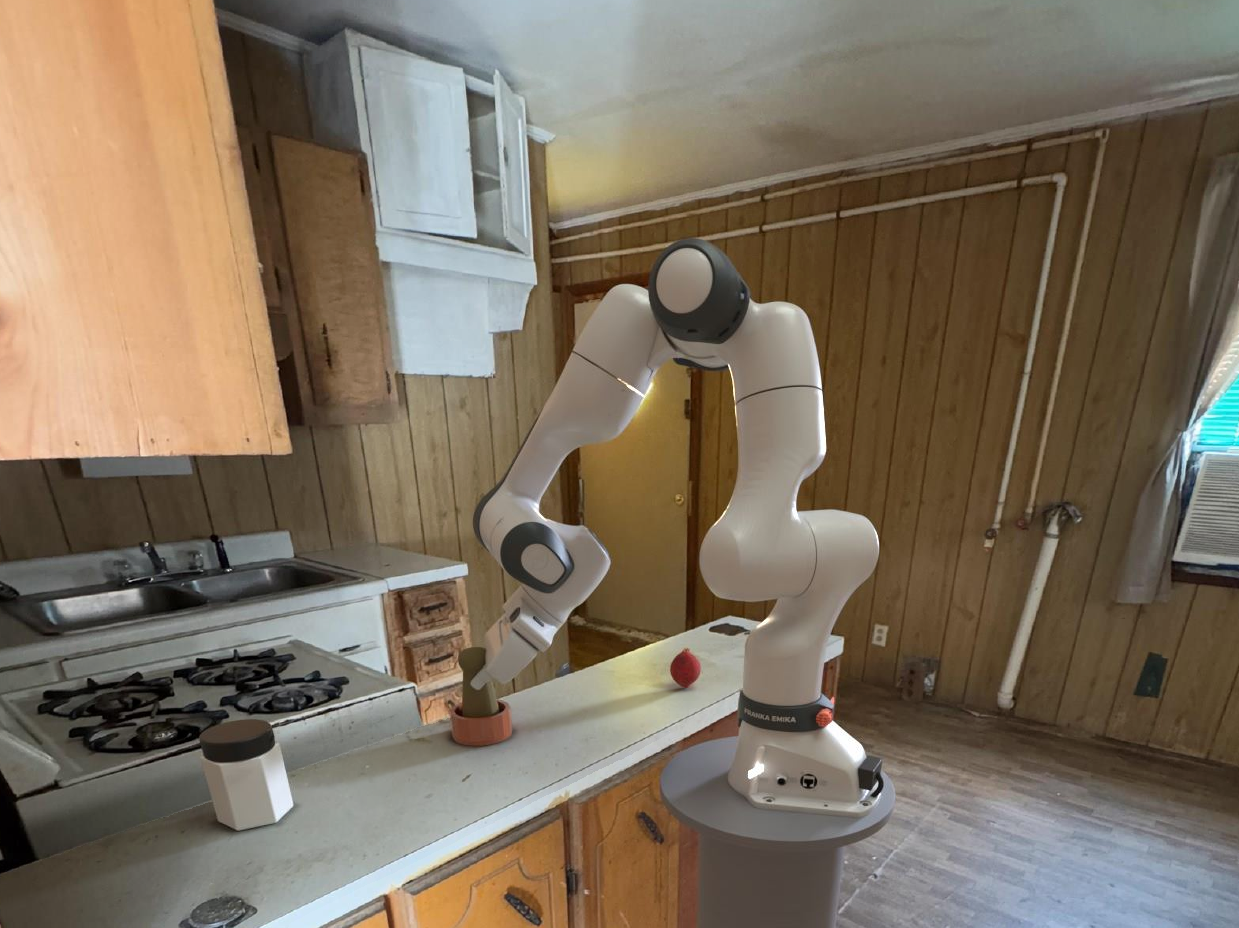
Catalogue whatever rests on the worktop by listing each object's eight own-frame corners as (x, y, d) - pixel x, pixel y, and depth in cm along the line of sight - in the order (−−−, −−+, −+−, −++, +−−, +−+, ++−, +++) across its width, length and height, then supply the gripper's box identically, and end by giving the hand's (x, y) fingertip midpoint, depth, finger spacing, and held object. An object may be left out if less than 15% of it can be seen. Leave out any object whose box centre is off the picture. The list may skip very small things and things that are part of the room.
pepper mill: (456, 711, 122) (448, 647, 117) (490, 703, 125) (484, 641, 120) (470, 723, 117) (462, 657, 112) (505, 715, 120) (499, 650, 116)
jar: (305, 810, 98) (287, 727, 94) (246, 837, 92) (223, 749, 87) (266, 793, 103) (247, 713, 98) (207, 818, 97) (183, 733, 92)
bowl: (523, 728, 124) (521, 703, 122) (490, 749, 116) (487, 723, 114) (475, 720, 128) (472, 695, 126) (440, 740, 120) (437, 714, 118)
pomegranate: (690, 694, 139) (691, 654, 136) (664, 689, 142) (664, 649, 138) (705, 686, 143) (706, 646, 140) (679, 681, 146) (680, 641, 143)
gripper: (512, 589, 124) (458, 649, 126) (519, 620, 106) (456, 690, 108) (540, 614, 127) (487, 672, 129) (552, 648, 109) (490, 715, 111)
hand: (473, 680), depth 118 cm, fingers closed on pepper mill, 4 cm apart
